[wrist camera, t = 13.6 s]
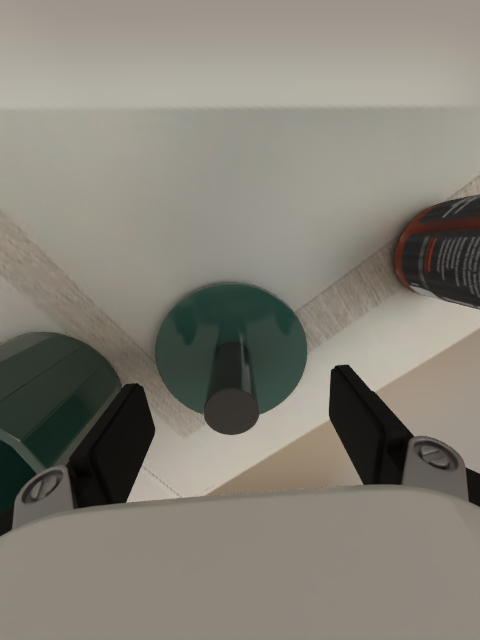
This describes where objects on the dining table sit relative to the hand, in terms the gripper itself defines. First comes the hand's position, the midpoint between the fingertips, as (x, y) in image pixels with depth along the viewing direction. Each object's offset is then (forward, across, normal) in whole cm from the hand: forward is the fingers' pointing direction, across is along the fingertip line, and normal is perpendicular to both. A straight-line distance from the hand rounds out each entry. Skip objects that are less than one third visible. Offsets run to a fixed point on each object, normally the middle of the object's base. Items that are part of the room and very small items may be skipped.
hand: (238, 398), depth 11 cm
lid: (+6, 0, +1) cm, 6 cm away
